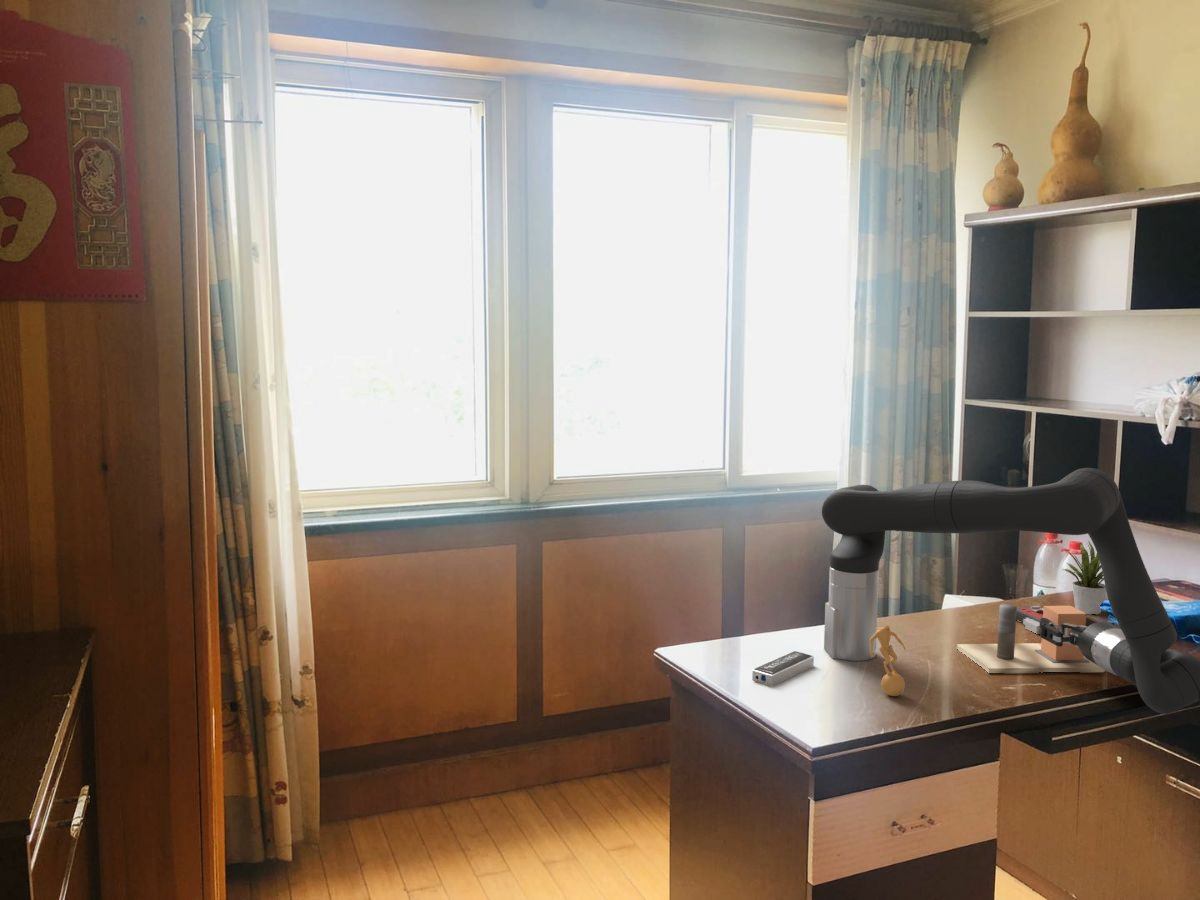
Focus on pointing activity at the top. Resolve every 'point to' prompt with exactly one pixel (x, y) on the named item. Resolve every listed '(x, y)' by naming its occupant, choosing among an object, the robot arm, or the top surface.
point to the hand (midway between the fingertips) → (1064, 622)
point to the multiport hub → (782, 668)
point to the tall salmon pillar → (1071, 617)
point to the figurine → (891, 681)
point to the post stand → (1019, 652)
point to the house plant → (1088, 582)
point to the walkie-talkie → (1030, 617)
